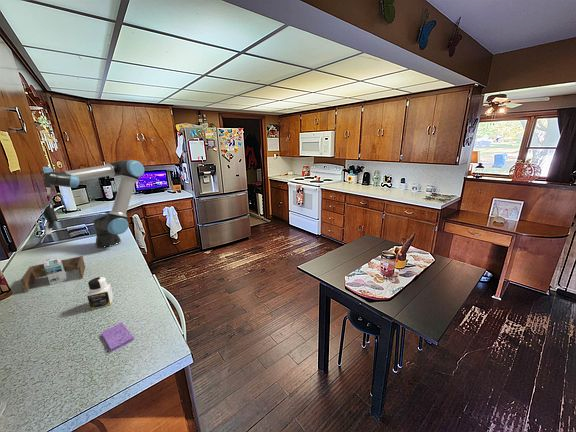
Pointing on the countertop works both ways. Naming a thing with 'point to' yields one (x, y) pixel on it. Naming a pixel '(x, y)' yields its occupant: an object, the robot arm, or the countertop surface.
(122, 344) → the sponges
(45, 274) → the walnut u-shaped bracket
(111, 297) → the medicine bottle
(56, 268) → the light bulb box
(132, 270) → the countertop surface
